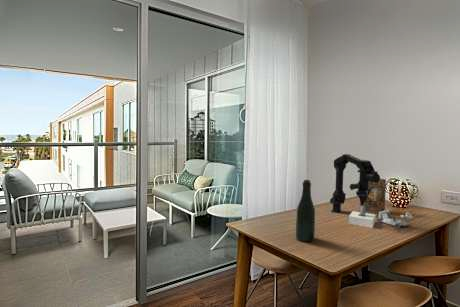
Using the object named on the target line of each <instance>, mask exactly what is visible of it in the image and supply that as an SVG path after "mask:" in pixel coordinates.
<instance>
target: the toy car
mask: <svg viewBox="0 0 460 307" xmlns="http://www.w3.org/2000/svg"><path fill="white" fill-rule="evenodd" d="M400 217H401V220H399V219H398V218H397V216H394V217H393V216H392V214H391V212H390V210H388V209H387V210H386V209H385V210H384V211H381V212H379V214H378V217H377V218H375V221H376V222H377V223H385V224H388V225H391V226H394V227H395V228H397V229H400V228H401V227H402V226H403V227H405V226H410V225H411V222H410V221H409V220H407V218H408V219H410V218H412V217H413V216H412V213H410V212H409V211H406V212H405V215H404V214H400ZM404 218H405V221H404Z"/></svg>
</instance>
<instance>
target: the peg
mask: <svg viewBox="0 0 460 307" xmlns="http://www.w3.org/2000/svg"><path fill="white" fill-rule="evenodd" d="M359 212H360V216H363V217H365V213H367V212H366V206H360V205H359Z"/></svg>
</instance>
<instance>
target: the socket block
mask: <svg viewBox="0 0 460 307" xmlns="http://www.w3.org/2000/svg"><path fill="white" fill-rule="evenodd" d="M375 223H376V213H369V212H365V217H363V216H360V211H354V210H353V211H352V212H350V214H349V216H348V224H349V225H354V226H360V227H366V228H370V229H371V228H372V229H373V228H374V225H375Z"/></svg>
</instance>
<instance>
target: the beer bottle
mask: <svg viewBox="0 0 460 307" xmlns="http://www.w3.org/2000/svg"><path fill="white" fill-rule="evenodd" d="M311 186H312V182H311V180H310V179H303V182H302V190H301V193H302V194H301V197H300V200H299V202H298V205H297V207H296V216H295V231H294V232H295V235H294V237H295V239H296V240H298V241H300V242H303V243H311V242H313V241H315V238H316V210H315V209H316V208H315V205H314V202H313V200H312V194H311Z"/></svg>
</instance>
